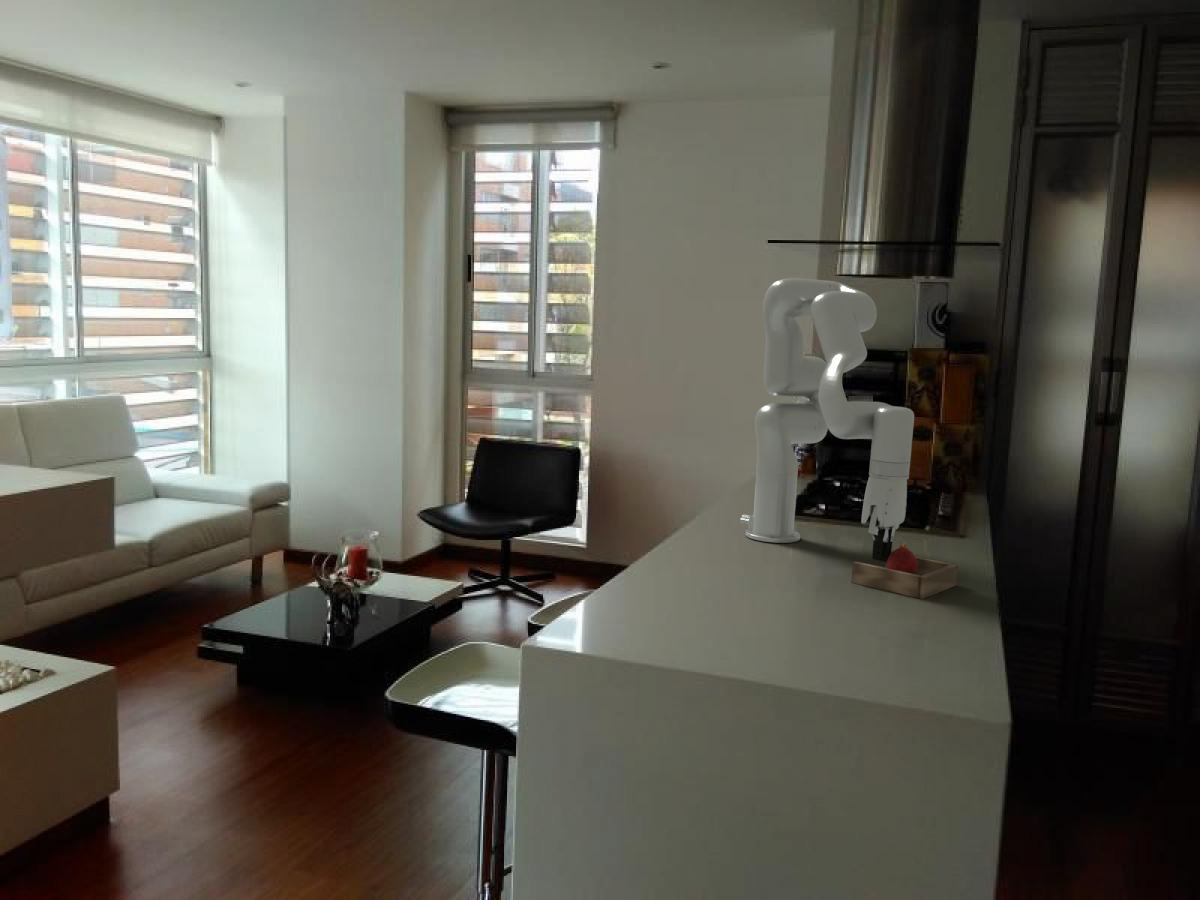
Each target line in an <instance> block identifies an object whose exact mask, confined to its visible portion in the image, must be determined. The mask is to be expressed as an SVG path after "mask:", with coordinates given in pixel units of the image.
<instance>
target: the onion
mask: <svg viewBox="0 0 1200 900" xmlns="http://www.w3.org/2000/svg"><path fill="white" fill-rule="evenodd" d="M891 552H892V553H891V554H890V555H889V557H888V559H887V568H888V569H893V570H897V571H902V572H906V573H911V574H915V573H916V571H917V567H918V564H917V560H916V557H917V556H915V554H914V553H913V552H912V551H911V549H908V544H907V543H905V542H903V543H901V544H900V546H899V547H898V548H896V549H895V550H893V551H891Z"/></svg>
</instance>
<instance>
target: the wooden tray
mask: <svg viewBox="0 0 1200 900" xmlns="http://www.w3.org/2000/svg"><path fill="white" fill-rule="evenodd" d="M892 552H893V551H891V553H892ZM915 557H916V560H917V564H918V567H917V571H916V573H915V574H911V573H906V572H902V571H897V570H893V569H888V568H887V562H884V567H883V566H879V565H874V564H869V563H864V562H861V561H853V562H852V571H851V583H852V584H857V585H860V586H861V585H862V586H865V587H870V588H874V589H876V590H877V589H879V590H881V591H887V592H890V593H891V592H892V593H896V594H898V595H904V596H908V597H912V598H917V599H921V600H924V599H926V598H929V597H931V596H934V595H936V594H938V593H940V592H944V591H946V590H948V589H950V588H952V587H956V586H957V584H958V583H957V582H958V572H959V564H953V563H949V562H944V561H939V560H933V559H930V558H924V557H919V556H915Z"/></svg>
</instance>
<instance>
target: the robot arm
mask: <svg viewBox="0 0 1200 900" xmlns="http://www.w3.org/2000/svg"><path fill="white" fill-rule="evenodd" d="M762 301H763V302H762V303H763V304H762V317H763V323H764V331H765V345H764V362H763V363H764V365H763V385H764V389H765V391H766V393H768V394H769V395H770V396H775V397H779V398H780V397H783V398H800V402H771V403H768V404H765V405H764V406H762V407H760V408H759V409H758V411H757V412H756V414H755V418H754V430H755V440H756V468H755V486H754V500H753V514H752V515H750V514H745V513H744V514H742V515H741V517H740V519H739V522H740V523H741V524H745V525H748V528H746V529H745V536H746V537H747V538H748V539H749V538H750V539H751V540H754V541H755V540H756V541H759V542H766V543H773V544H776V543H777V544H787V543H795V542H798V541H800V540H801V534H800V533H799V532H798V531H795V529H794V528H795V516H796V515H795V514H796V502H797V488H798V476H799V475H798V473H799V461H798V458H797V455H796V453H795V452H794V450H793V447H792V445H795V444H797V445H798V444H800V445H801V444H802V445H803V444H805V445H807V444H815V443H819V442H820V441H822V440H823V439H824V438H825V437H826V436H827V432H828V431H829V432H830V433H831V434H832V435H833V436H834V437H836V438H838V439H840V440H841V439H842V440H857V439H861V440H863V439H864V440H871V449H870V459H869V469H868V470H869V471H868V475H869V476H868V480H867V483H866V487H865V492H864V499H863V503H862V504H863V505H862V511H861V521H860V522H861V524H862V525H864V526H868V525H869V527H868V534H870V535H872V541H873V543H872V555H871V558H872V560H873V561H877V562H884V563H885V562H887V559H888V557H889V555H890V554H891V552H892V547H893V541H894V538H895V532H896V530H898V529H899V527H900V524H902V523H904V521H905V518H906V512H907V498H908V496H907V495H908V490H907V489H908V481H907V480H909V478H910V467H911V455H912V447H913V435H914V434H913V433H914V424H915V413H914V411H913V410H912V409H911V408H908V407H905V406H896V405H895V406H894V405H890V404H888V403H885V402H882V401H881V402H880V401H848V399H847V397H846V394H845V390H844V388H843V375H844V373H847V372H849V371H850V370H853V369H855V368H856V367H859V366H860V365H861V364H863V362H865V360H866V359H867V356H868V350H867V347H866V345H865V342H864V338H863V336H862V333H864V332H868V331H869V330H871V329H872V328H873V327H874V325H875V324H876V321H877V316H878V312H877V306H876V304H875V302H874V300H873V299H872V297H870V295H868V294H867V293H865V292H864V291H861V290H858V289H856V288H854V287H851V286H849V285H846V284H844V283H841V282H838V281H833V280H827V279H823V280H822V279H815V278H814V279H812V278H811V279H810V278H801V277H789V278H782V279H779V280H776V281H775V282H773V283H772V284H770V286H769V287H768V289H767V290H766V293H765V295H764V298H763V300H762ZM796 318H808V319H809V318H811V319H812V322H813V326H814V329H815V331H816V332H815V333H816V335H817V337H818V340H819V345H820V347H821V350H822V353H823V356H824V359H825V360H824V359H823V358H820V357H818V356H813V355H804V350H803V349H804V347H803V346H804V335H803V331H802V329H801V327H800V325H799V322H798V321H797V320H796Z"/></svg>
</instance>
